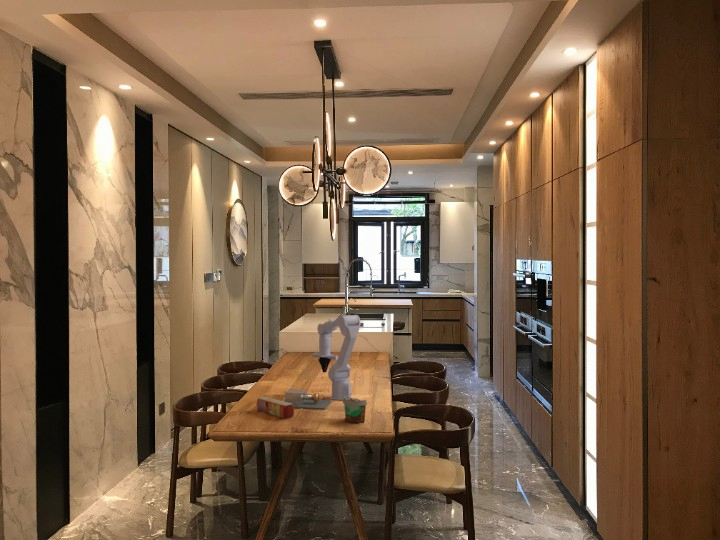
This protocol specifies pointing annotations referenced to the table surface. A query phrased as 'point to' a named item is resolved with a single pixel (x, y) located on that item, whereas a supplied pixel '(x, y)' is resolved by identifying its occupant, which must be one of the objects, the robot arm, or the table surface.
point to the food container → (354, 410)
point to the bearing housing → (295, 396)
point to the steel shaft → (312, 397)
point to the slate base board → (314, 404)
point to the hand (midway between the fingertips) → (324, 372)
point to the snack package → (275, 407)
